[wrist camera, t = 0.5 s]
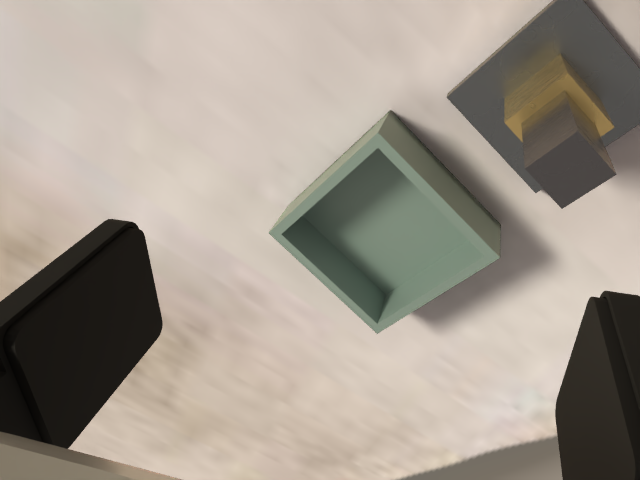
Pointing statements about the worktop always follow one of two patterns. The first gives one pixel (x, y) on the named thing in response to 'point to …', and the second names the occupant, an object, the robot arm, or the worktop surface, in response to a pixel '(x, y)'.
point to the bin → (388, 226)
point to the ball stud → (536, 52)
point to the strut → (561, 131)
